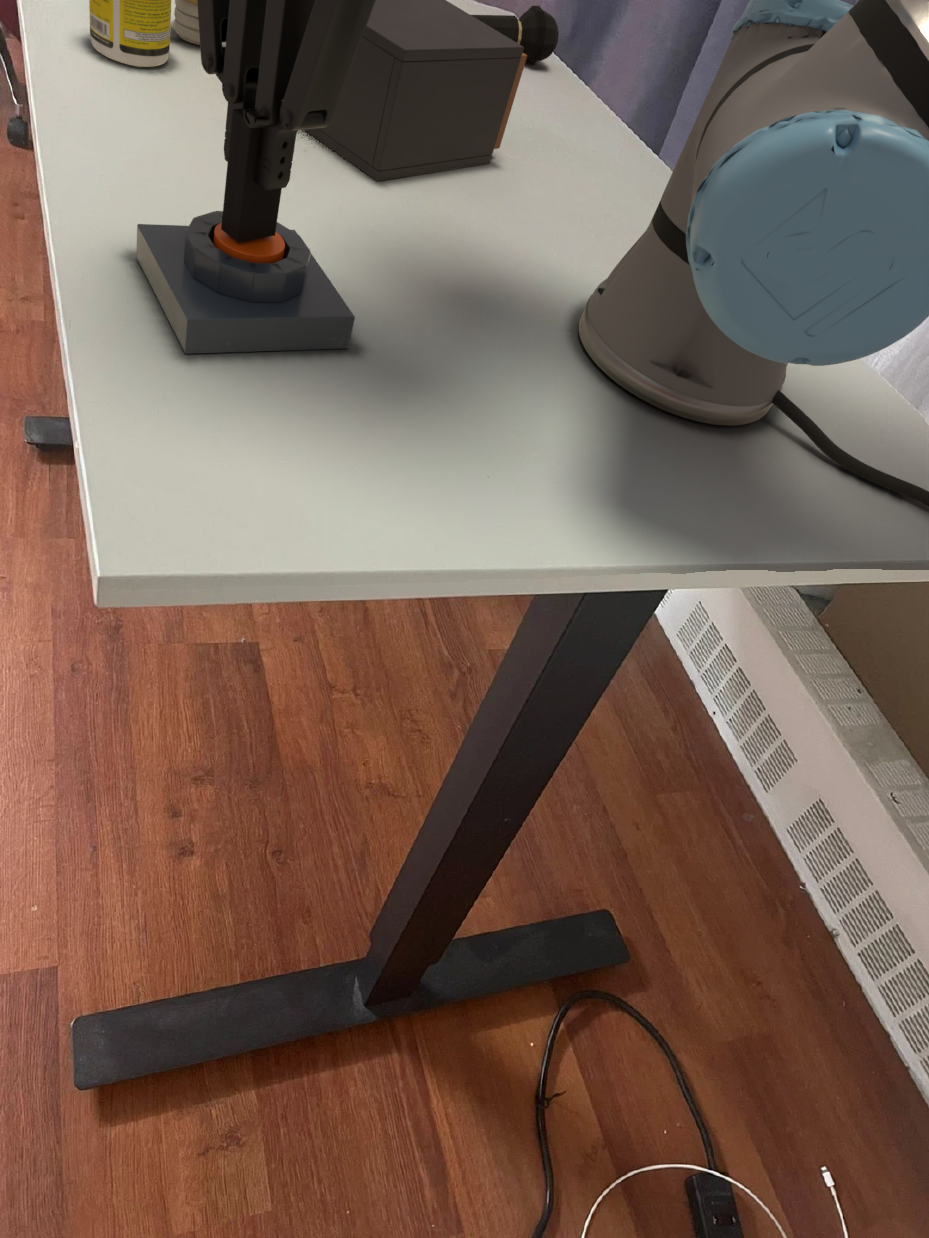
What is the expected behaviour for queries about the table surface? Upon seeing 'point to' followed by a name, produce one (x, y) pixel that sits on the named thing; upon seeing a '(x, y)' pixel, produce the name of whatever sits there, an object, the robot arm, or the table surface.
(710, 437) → the table surface
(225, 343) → the control box
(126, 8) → the pill bottle
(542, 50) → the microphone
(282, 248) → the button
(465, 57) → the cabinet
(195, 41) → the light bulb
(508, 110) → the drawer
